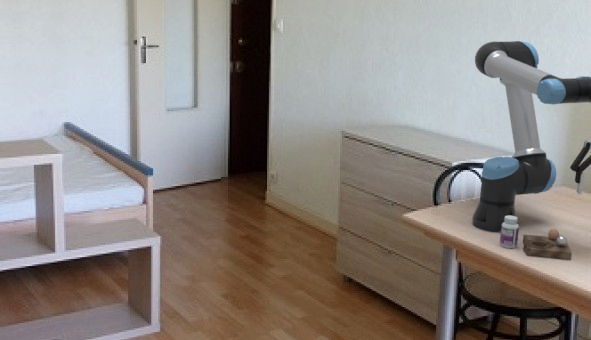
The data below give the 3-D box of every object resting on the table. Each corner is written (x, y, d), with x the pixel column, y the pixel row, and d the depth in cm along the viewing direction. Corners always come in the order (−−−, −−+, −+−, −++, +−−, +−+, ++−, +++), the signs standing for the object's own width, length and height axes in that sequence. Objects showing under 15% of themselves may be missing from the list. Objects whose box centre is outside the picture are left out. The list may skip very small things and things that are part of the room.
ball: (555, 247, 235) (557, 237, 234) (554, 243, 238) (555, 233, 237) (567, 248, 234) (568, 238, 234) (565, 244, 238) (566, 234, 237)
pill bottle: (508, 241, 246) (511, 213, 244) (520, 247, 242) (523, 218, 239) (496, 244, 244) (499, 215, 241) (507, 249, 239) (510, 220, 237)
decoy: (548, 240, 241) (549, 230, 240) (546, 237, 244) (548, 227, 243) (559, 241, 240) (560, 231, 240) (557, 238, 244) (559, 228, 243)
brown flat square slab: (525, 255, 234) (526, 248, 233) (521, 241, 246) (521, 234, 246) (570, 260, 232) (571, 252, 231) (564, 245, 244) (565, 238, 244)
